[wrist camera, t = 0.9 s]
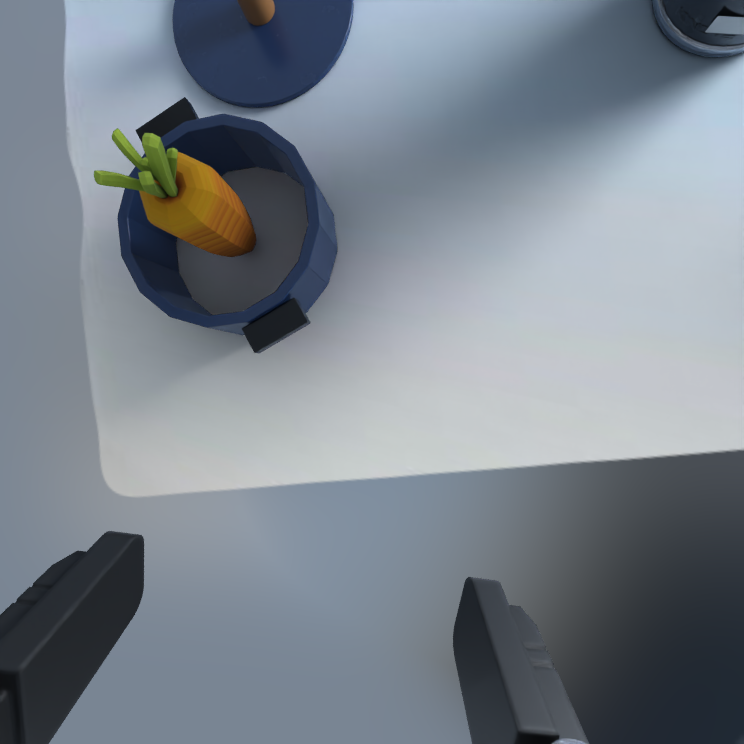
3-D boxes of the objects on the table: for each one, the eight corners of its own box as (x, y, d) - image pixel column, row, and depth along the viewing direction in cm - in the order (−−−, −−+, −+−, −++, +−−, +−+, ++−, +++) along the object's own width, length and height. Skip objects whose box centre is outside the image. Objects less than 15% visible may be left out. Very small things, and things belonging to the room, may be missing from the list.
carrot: (220, 274, 36) (73, 203, 21) (224, 215, 36) (80, 102, 21) (276, 277, 35) (167, 206, 20) (281, 217, 35) (175, 102, 20)
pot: (129, 198, 37) (73, 164, 31) (272, 104, 35) (240, 50, 29) (229, 386, 36) (189, 388, 30) (380, 298, 34) (371, 282, 28)
